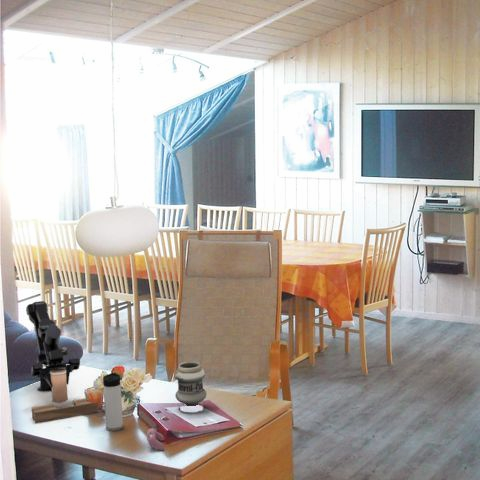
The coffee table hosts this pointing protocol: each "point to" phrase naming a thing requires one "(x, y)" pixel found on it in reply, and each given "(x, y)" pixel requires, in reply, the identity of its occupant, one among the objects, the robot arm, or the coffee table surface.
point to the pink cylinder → (59, 385)
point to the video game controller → (155, 439)
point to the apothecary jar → (190, 383)
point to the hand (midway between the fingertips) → (59, 385)
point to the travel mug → (113, 402)
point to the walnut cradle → (63, 411)
